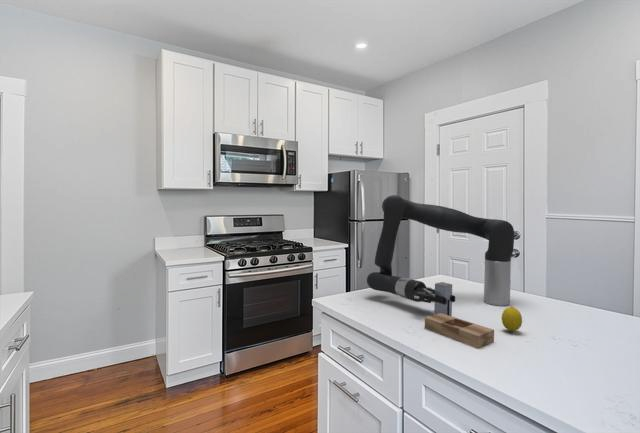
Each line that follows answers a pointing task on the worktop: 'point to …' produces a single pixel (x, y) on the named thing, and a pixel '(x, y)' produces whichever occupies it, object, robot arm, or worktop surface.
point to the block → (445, 291)
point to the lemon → (511, 319)
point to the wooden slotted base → (460, 330)
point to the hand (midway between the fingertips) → (450, 300)
